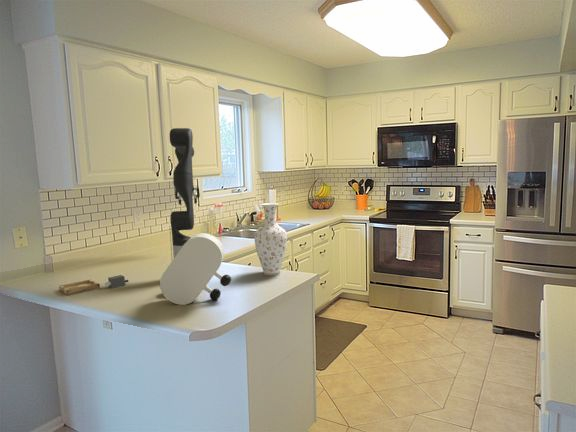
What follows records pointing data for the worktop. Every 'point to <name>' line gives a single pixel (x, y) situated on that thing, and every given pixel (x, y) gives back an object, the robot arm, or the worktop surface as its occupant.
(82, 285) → the tray
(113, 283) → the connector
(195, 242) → the robot
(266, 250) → the vase
